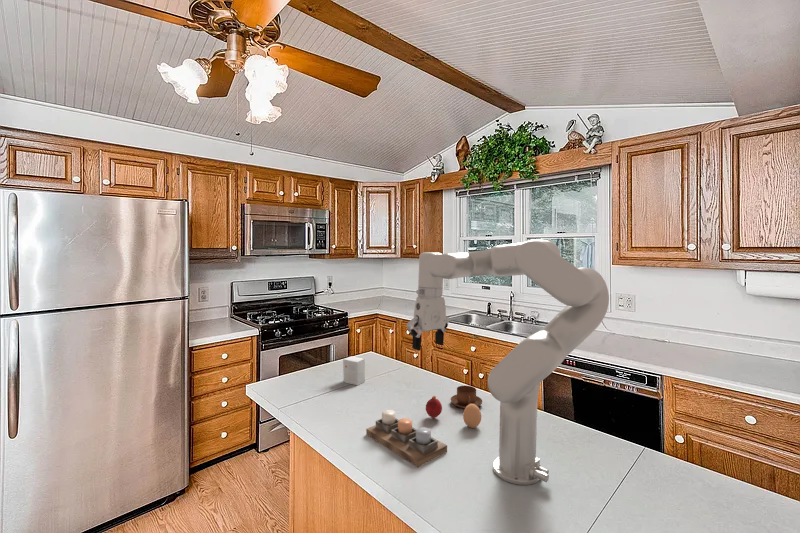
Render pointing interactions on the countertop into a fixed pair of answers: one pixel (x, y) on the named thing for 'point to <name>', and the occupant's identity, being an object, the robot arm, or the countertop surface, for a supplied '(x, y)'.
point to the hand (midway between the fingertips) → (428, 346)
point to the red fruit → (433, 407)
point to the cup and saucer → (466, 397)
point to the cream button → (388, 417)
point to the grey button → (423, 436)
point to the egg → (472, 416)
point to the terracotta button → (405, 426)
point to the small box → (354, 370)
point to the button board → (406, 443)
